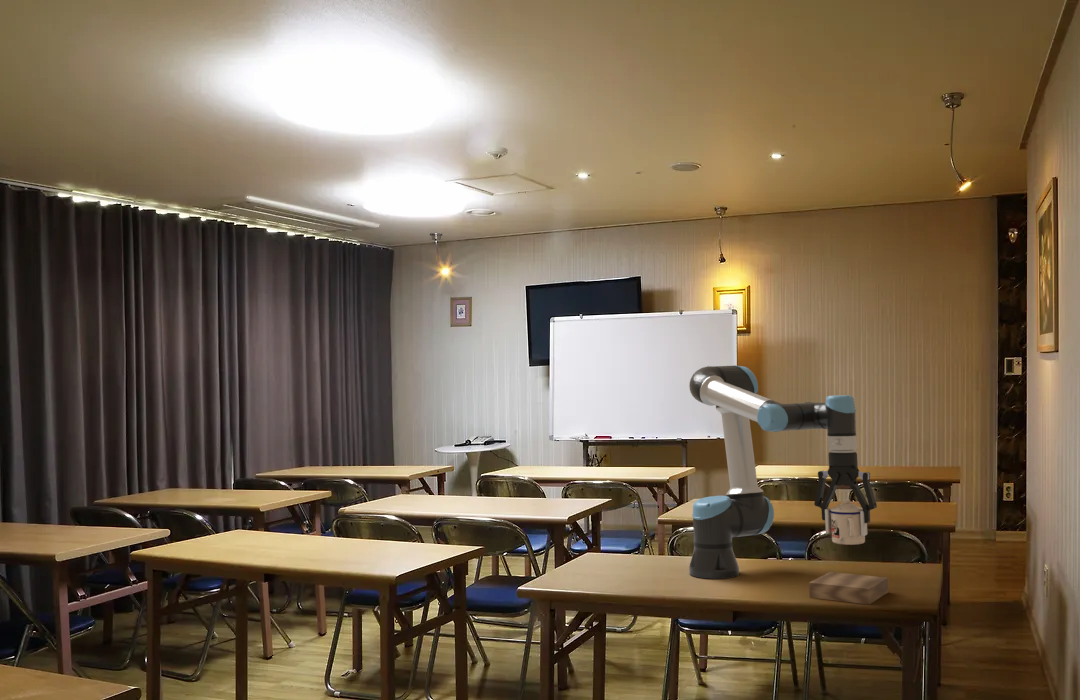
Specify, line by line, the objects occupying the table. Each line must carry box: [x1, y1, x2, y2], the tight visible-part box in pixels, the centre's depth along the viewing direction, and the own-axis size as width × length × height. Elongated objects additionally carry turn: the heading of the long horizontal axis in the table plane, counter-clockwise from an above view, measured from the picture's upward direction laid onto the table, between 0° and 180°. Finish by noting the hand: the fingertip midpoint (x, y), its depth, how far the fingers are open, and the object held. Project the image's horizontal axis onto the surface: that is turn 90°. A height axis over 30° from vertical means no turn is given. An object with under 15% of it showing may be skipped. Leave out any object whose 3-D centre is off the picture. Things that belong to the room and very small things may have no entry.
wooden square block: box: [808, 571, 889, 605], centre depth 245 cm, size 16×16×4 cm
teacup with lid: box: [830, 498, 866, 546], centre depth 246 cm, size 12×9×12 cm
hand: (846, 533), depth 246 cm, fingers closed on teacup with lid, 9 cm apart
